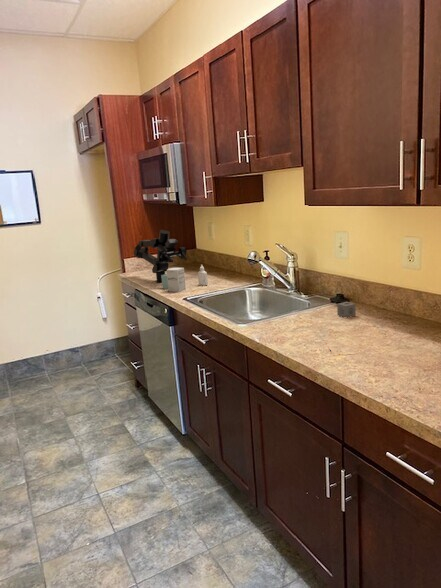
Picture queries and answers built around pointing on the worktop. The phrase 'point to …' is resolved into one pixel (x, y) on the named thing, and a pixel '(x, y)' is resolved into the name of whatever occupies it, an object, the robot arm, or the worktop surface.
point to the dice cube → (346, 309)
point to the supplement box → (176, 279)
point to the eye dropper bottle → (202, 277)
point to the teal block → (164, 281)
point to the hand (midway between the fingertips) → (179, 260)
